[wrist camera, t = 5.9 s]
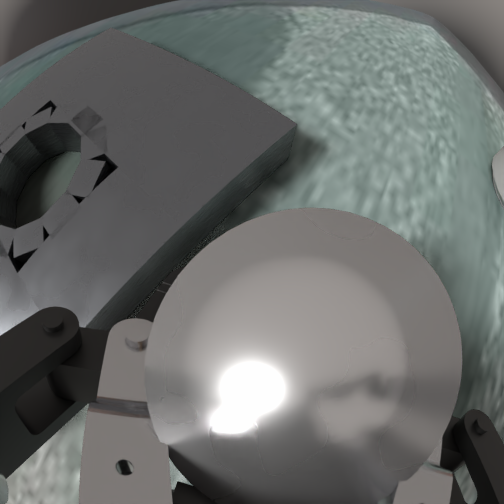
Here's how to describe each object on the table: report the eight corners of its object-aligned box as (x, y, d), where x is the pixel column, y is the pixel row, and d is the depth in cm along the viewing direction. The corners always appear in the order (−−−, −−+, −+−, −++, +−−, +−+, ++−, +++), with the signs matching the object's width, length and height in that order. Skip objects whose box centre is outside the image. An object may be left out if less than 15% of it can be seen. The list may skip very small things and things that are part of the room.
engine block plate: (118, 53, 20) (110, 27, 17) (288, 158, 17) (297, 124, 14) (-64, 233, 14) (-85, 219, 11) (26, 432, 11) (-5, 440, 8)
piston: (258, 281, 14) (299, 150, 5) (338, 350, 14) (498, 333, 4) (184, 361, 13) (76, 378, 4) (268, 431, 12) (328, 562, 3)
